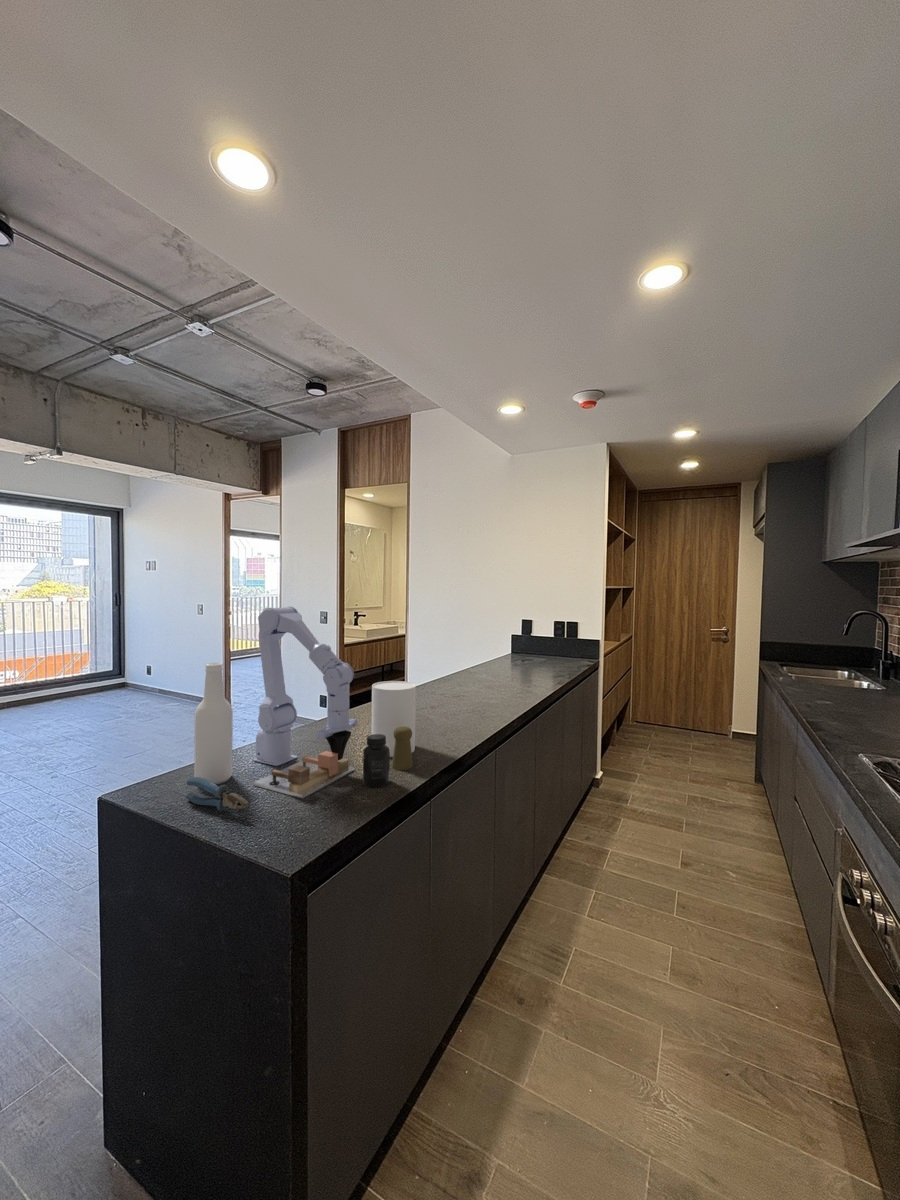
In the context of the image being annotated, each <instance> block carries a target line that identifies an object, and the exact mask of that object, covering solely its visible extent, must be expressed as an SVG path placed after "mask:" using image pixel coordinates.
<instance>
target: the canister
mask: <svg viewBox="0 0 900 1200" xmlns="http://www.w3.org/2000/svg"><path fill="white" fill-rule="evenodd" d="M416 692H417V684H416V683H413V682H410V681H403V680H387V681H378V682H375V683H373V684H372V685H371V724H370V725H371V730H370V731H371V734H370V735H373V734H382V735H385V736H386V744H385V745H386V746H387V747H388V748H389V750H390V758H393V753H394V746H395V740H396V739H395V738H394V730H395V729H396V728H397V727H409V728H410V729H411V730H412V737H411V739H410V743H411V752H412V753H414V752H415V751H416V750H415V749H416V708H417V707H416V706H417V703H416V702H417V700H416V699H417V693H416Z"/></svg>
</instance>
